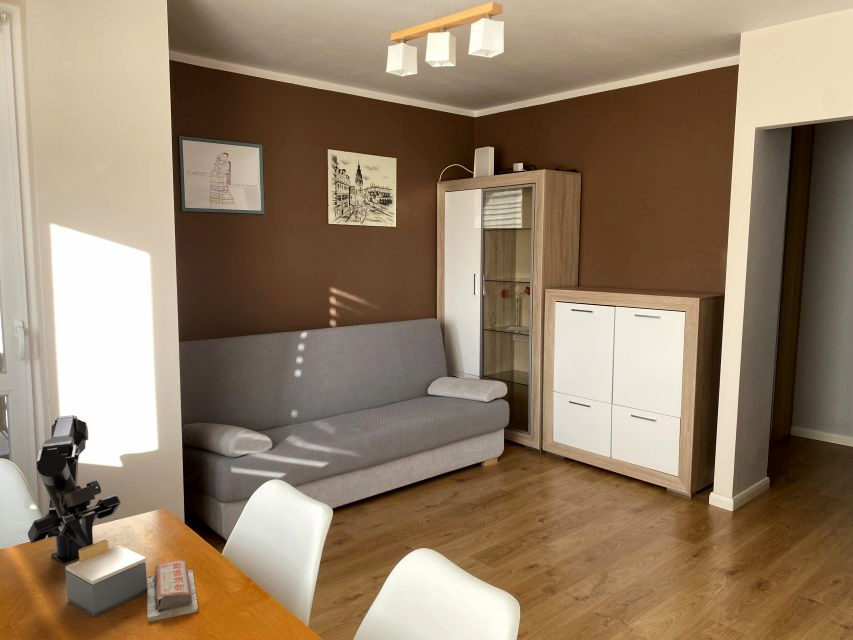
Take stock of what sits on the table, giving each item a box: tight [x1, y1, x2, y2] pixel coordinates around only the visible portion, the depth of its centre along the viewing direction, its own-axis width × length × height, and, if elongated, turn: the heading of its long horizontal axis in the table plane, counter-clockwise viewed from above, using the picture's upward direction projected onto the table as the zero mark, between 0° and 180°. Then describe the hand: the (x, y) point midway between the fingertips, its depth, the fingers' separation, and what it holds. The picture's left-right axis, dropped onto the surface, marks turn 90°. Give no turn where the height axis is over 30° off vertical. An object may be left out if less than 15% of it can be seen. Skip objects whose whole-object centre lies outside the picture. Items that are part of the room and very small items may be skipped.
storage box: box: [64, 561, 148, 618], centre depth 145 cm, size 11×12×7 cm
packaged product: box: [146, 559, 199, 623], centre depth 145 cm, size 18×5×10 cm
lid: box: [65, 539, 147, 585], centre depth 144 cm, size 11×12×3 cm
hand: (91, 549), depth 147 cm, fingers closed, pressing on lid
